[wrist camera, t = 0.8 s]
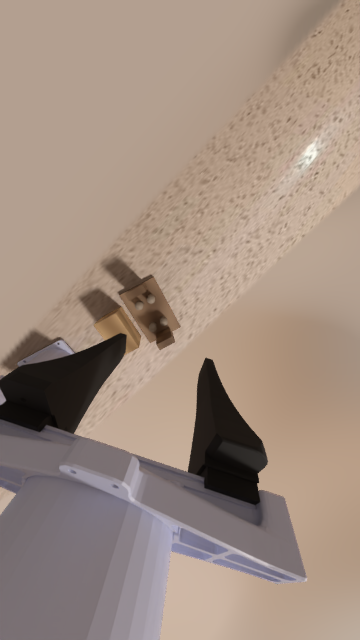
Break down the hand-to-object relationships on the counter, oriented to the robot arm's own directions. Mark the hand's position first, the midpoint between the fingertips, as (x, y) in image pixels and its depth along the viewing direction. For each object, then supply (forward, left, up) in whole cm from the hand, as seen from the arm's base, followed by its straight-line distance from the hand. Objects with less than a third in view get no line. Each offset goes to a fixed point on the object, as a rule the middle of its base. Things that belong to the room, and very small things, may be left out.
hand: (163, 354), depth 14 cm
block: (-8, 0, -18) cm, 20 cm away
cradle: (-1, 0, -18) cm, 18 cm away
